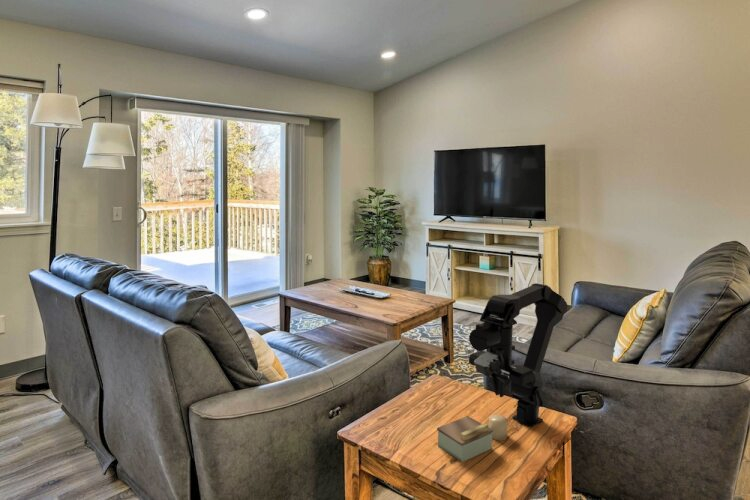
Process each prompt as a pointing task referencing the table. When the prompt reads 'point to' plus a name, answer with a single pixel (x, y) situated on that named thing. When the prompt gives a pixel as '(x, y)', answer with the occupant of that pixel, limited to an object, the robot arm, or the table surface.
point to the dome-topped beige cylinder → (498, 427)
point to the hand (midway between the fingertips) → (499, 395)
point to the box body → (465, 446)
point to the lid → (465, 430)
